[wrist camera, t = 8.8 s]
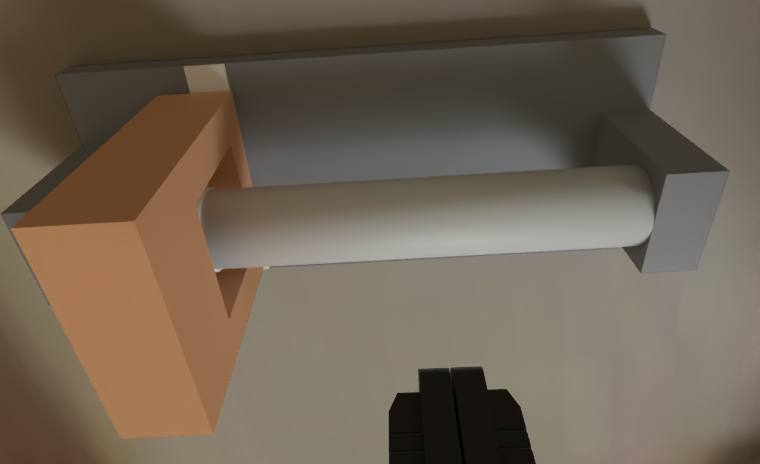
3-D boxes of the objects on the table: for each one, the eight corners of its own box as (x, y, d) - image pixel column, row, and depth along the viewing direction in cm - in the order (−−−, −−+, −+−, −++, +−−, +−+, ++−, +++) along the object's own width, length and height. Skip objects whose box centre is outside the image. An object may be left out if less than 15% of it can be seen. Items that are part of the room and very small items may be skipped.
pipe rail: (652, 27, 21) (762, 78, 15) (609, 234, 26) (677, 332, 20) (69, 66, 22) (-47, 130, 16) (143, 261, 27) (77, 363, 21)
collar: (231, 90, 21) (134, 221, 12) (267, 254, 25) (213, 434, 17) (157, 95, 21) (10, 228, 12) (205, 258, 25) (121, 438, 17)
